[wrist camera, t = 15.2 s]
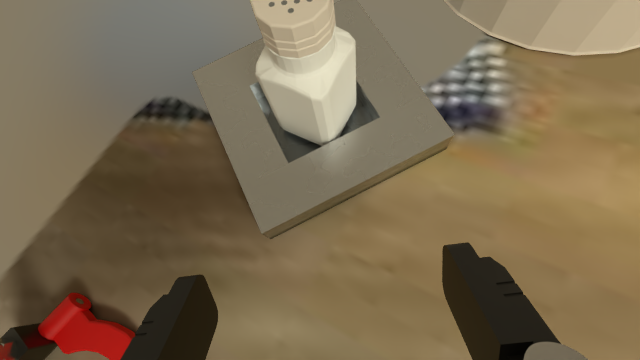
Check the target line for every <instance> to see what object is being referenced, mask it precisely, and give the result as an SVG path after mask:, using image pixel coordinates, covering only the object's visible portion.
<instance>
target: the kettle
mask: <svg viewBox="0 0 640 360" xmlns="http://www.w3.org/2000/svg"><path fill="white" fill-rule="evenodd" d="M443 1H444V2H445V3H446V4H447V5H448V6H449V7H450V8H451V9H452V10H453V11H454V12H455V13H456V14H457V15H458V16H459V17H461V18H462V19H464V20H466V21H467V22H469V23H470V24H472V25H474V26H475V27H477V28H479V29H480V30H482V31H483V32H485V33H487V34H488V35H490V36H493V37H496V38H498V39H501V40H504V41H507V42H510V43H512V44H515V45H518V46H521V47H524V48H527V49H532V50H539V51H546V52H553V53H560V54H567V55H589V54H607V53H620V52H623V51H627V50H631V49H634V48H638V47H640V0H443Z"/></svg>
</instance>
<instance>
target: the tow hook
mask: <svg viewBox="0 0 640 360" xmlns="http://www.w3.org/2000/svg"><path fill="white" fill-rule="evenodd" d="M90 308H91V302H90V301H89V300H88V299H87V298H86V297H85V296H83V295H81V294H79V293H70V294H69V295H68V296H67V297H66V298H65V299H64V300H63V301H62V302H61V303H60V304H59V305H58V306H57V307H56V308H55V309H54V310H53V312H52V313H51V314H50V315H49V316H48V317H47V318H46V319H45V320H44V321H43V322H42V323H39V324H32V325H26V326H19V327H13V328H10V329H9V330H8V331H7V332H6V333H5V334H4V335H3V336H2V337H1V338H0V360H44V359H45V358H46V357H47V356H48V355H49V354H50V353H51V352H52V351H53V350H54V349H55V348H56V347H57V346H59V348H60V349H61V350H62V352H63V353H66V354H70V353H74V352H77V351H85V350H87V351H92V352H98V353H100V354H102V355H103V356H105V357H107V358H109V360H120V359H121V357H122V356H123V354H124V352H125V350H126V349H127V347H128V345H129V344H130V342H131V340H132V338H133V337H135V333H134V332H133V331H131V330H129V329H128V328H126V327H124V326H122V325H120V324H118V323H115V322H110V321H105V320H97V319H96V318H95V316H94V315H93V314H92V313H91V312H90V310H89V309H90Z"/></svg>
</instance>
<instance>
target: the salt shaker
mask: <svg viewBox="0 0 640 360" xmlns="http://www.w3.org/2000/svg"><path fill="white" fill-rule="evenodd" d="M250 3H251V6H252V9H253V12H254V15H255V18H256V20H257V23H258V26H259V28H260V31H261V33H262V36H263V41H264V43H265V47H264V49H263V50H262V52H261V55H260V57H259V59H258V61H257V63H256V78H257V80H258V82H259V84H260V86H261V88H262V90H263V92H264V94H265V96H266V98H267V100H268V102H269V104H270V107H271V109H272V111H273V113H274V115H275V117H276V119H277V121H278V123H279V125H280V126H281V127H282V128H283V129H284V130H286V131H288V132H290V133H293V134H295V135H297V136H300V137H302V138H304V139H307V140H309V141H311V142H314V143H316V144H318V145H321V146H324V145H326V144H328V143H330V142H332V141H334V140H336V139H338V138H339V136H340V134H341V132H342V131H343V129H344V127H345V125H346V123H347V121H348V119H349V117H350V115H351V114H352V112H353V110H354V108H355V106H356V41H355V39H354V38H353V37H352V36H351V35H350V34H349V32H347V31H345V30H343V29H341V28H339V27H337V26H336V21H335V14H334V13H335V10H334V0H250Z"/></svg>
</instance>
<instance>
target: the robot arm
mask: <svg viewBox="0 0 640 360" xmlns="http://www.w3.org/2000/svg"><path fill="white" fill-rule="evenodd" d="M442 282H443V290H444V294H445V297H446V300H447V303H448V305H449V307H450V309H451V312H452V314H453V316H454V318H455V321H456V323H457V325H458V327H459V330H460V332H461V334H462V337H463V339H464V341H465V343H466V346H467V348H468V350H469V352H470V355H471V357H472V359H473V360H588V359H587V358H585V357H584V356H583V355H582V354H580V353H579V352H577V351H575V350H574V349H572V348H570V347H568V346H565V345H562V344H561V343H560V342H559V341H558V340H557V338H556V337H555V336H554V334H553V333H552V331H551V330H550V329H549V327H548V326H547V325H546V323H545V322H544V320H543V319H542V318H541V316H540V315H539V314H538V312H537V311H536V310H535V308H534V307H533V305H532V304H531V303H530V301H529V300H528V299H527V297H526V296H525V295H523V292H522V290H521V289H520V288H519V286H518V285H517V284H515V281H514V279H513V278H512V277H511V275H510V274H509V273H508V271H507V270H506V268H505V267H503V266H502V265H501V264H499V263H498V262H496V261H495V260H493V259H492V258H491V257H483V258H479V257H478V255H477V254H476V252H475V251H474V249H473V247H472V246H471V245H470V244H469V243H459V244H451V245H444V246H443V266H442ZM217 322H218V310H217V306H216V304H215V301H214V299H213V296H212V294H211V291H210V289H209V287H208V284H207V282H206V279H205V277H204V276H203V275H193V276H185V277H179V278H178V279H177V280H176V281H175V283H174V285H173V286H172V288H171V290H170V292H169V294H167V295H163V296H162V297H161V298H160V299H159V300H158V301H157V302H156V303H155V304H154V305H153V306H152V307H151V308H150V309H149V311H148V313H147V315H146V316H145V318H144V320H143V321H142V325H140V327H139V328H138V330H137V332H136V333H135V337H133V338H132V340H131V342H130V344H129V345H128V347H127V349H126V350H125V352H124V354H123V356H122V357H121V359H120V360H205V359H206V356H207V353H208V350H209V347H210V344H211V341H212V338H213V335H214V332H215V329H216V326H217Z"/></svg>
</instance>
